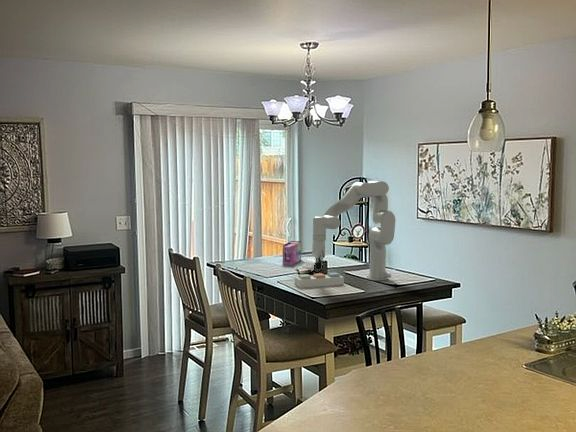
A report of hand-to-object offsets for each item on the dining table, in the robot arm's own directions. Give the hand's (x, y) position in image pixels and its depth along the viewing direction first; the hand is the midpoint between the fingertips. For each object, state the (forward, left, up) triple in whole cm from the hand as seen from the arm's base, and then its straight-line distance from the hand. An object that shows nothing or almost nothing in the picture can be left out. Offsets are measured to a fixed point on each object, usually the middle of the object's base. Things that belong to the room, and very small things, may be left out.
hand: (318, 269), depth 328 cm
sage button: (+5, +7, -6) cm, 11 cm away
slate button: (-6, -7, -6) cm, 11 cm away
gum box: (+54, -51, -10) cm, 75 cm away
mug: (+24, -29, -10) cm, 39 cm away
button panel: (0, 0, -9) cm, 9 cm away
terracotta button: (0, 0, -6) cm, 6 cm away
